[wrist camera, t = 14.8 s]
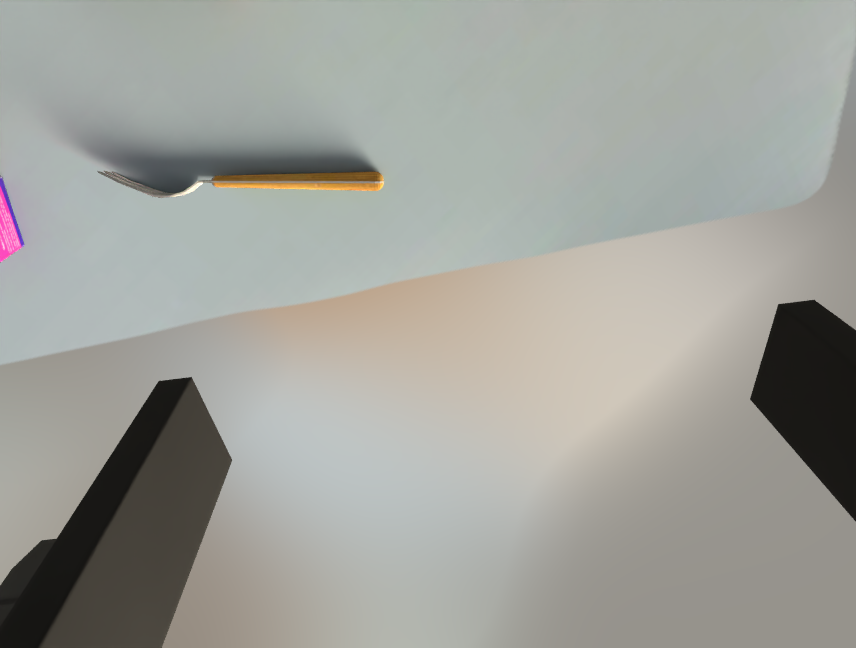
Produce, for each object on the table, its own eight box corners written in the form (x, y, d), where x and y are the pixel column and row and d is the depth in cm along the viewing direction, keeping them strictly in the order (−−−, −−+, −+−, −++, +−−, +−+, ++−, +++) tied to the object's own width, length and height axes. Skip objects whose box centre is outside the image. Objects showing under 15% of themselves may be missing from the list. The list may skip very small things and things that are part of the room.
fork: (383, 167, 36) (93, 171, 35) (384, 193, 37) (99, 198, 35) (383, 166, 38) (112, 170, 37) (384, 191, 39) (118, 196, 38)
